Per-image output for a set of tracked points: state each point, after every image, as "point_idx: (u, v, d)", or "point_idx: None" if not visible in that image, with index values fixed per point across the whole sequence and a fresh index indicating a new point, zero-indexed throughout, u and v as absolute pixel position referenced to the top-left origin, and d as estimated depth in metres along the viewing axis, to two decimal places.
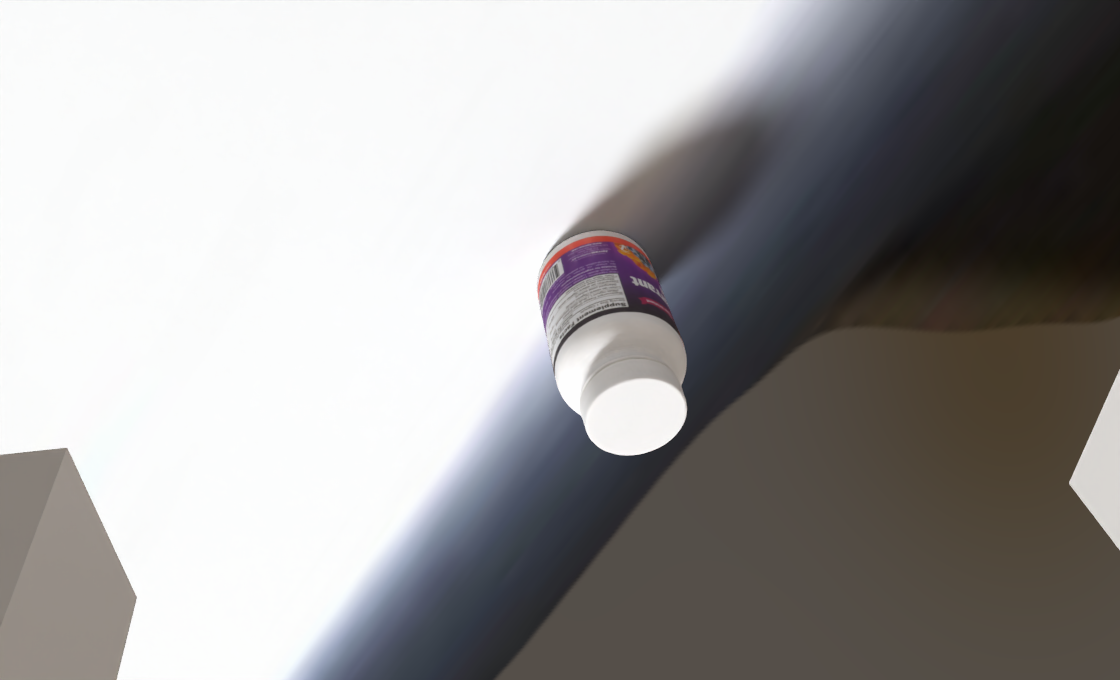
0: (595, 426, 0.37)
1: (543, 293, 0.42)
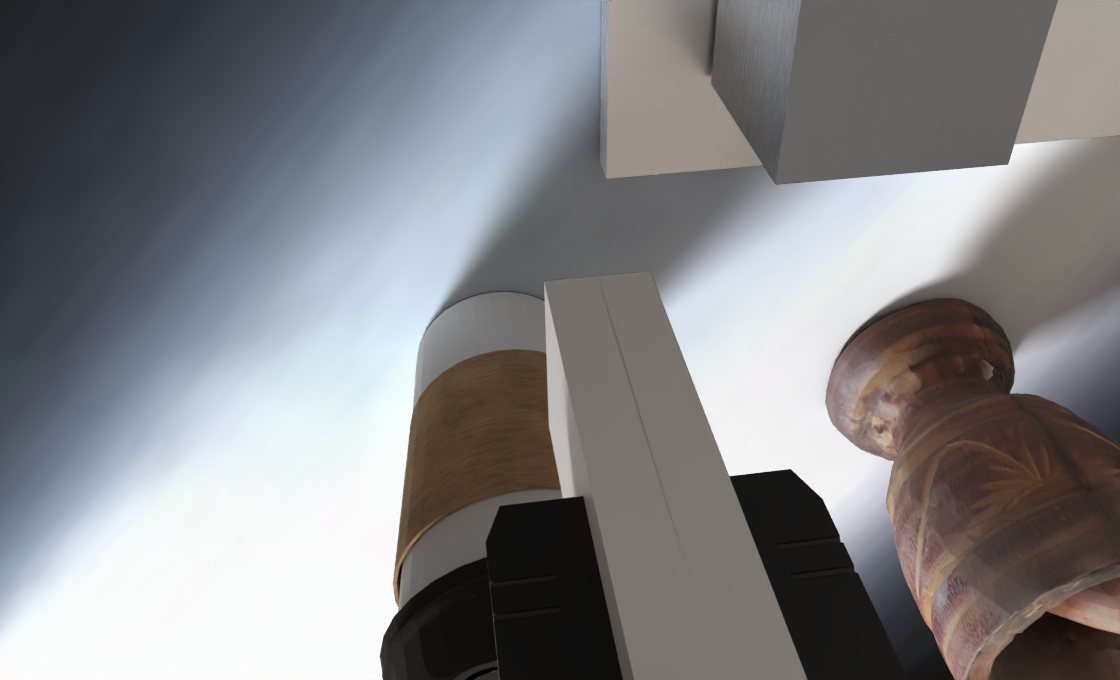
0: None
1: None
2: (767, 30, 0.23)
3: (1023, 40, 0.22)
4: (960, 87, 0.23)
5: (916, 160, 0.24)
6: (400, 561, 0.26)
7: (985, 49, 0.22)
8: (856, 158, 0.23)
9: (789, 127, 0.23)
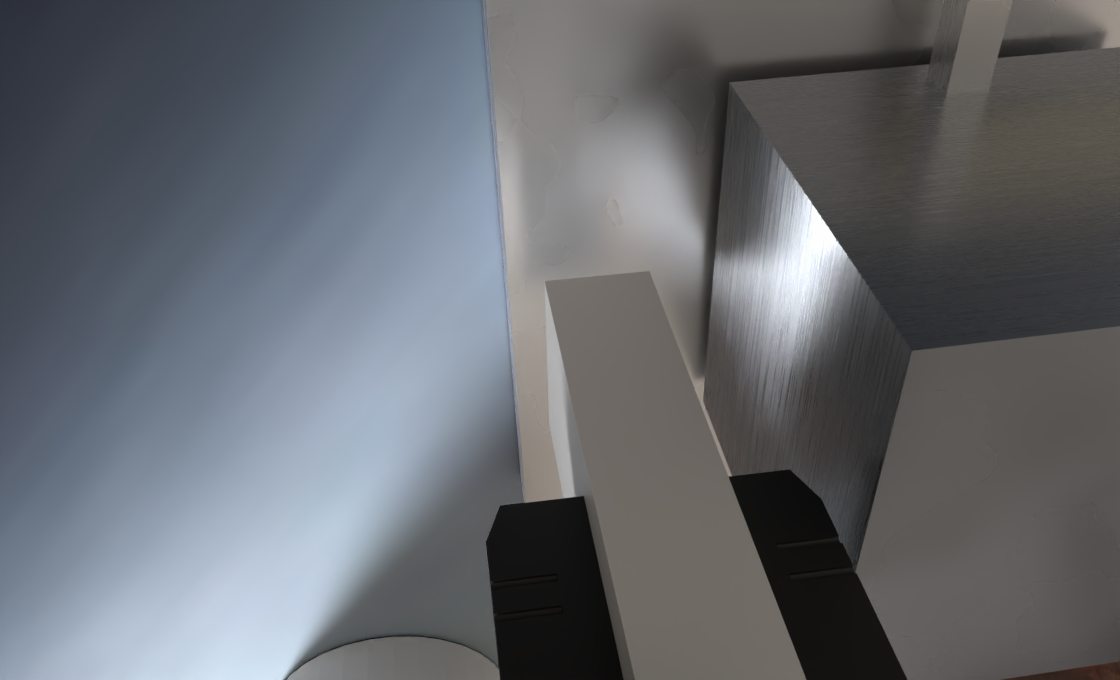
0: None
1: None
2: (804, 436, 0.12)
3: None
4: None
5: (1083, 653, 0.13)
6: None
7: None
8: (973, 662, 0.12)
9: None
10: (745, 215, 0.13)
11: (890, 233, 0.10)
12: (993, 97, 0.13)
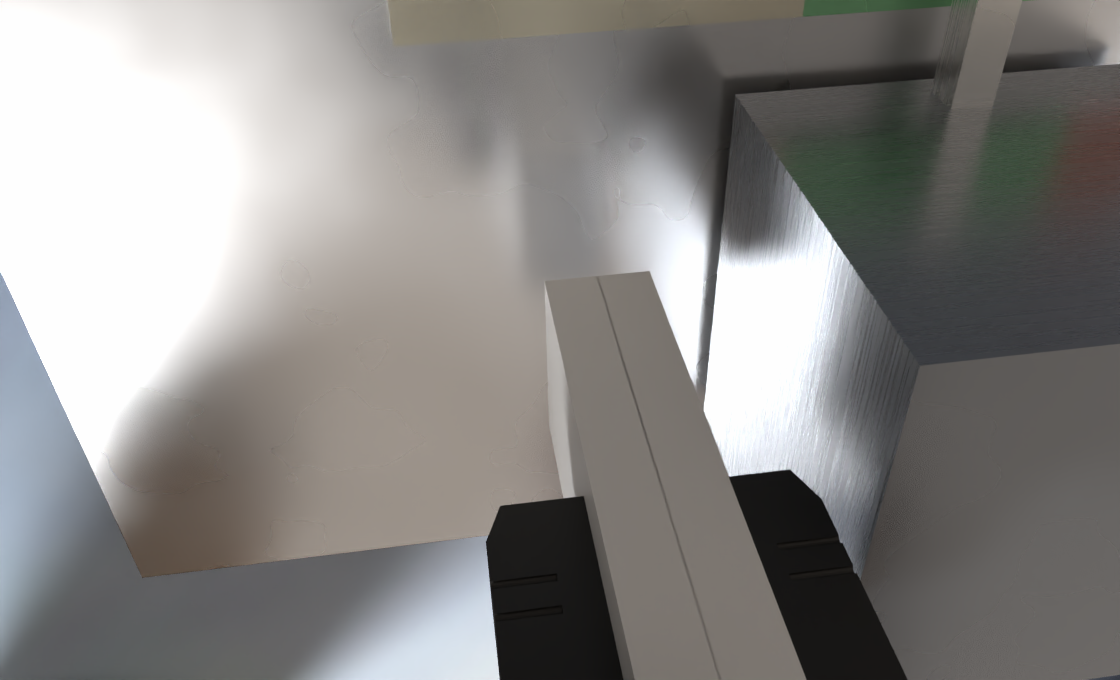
0: None
1: None
2: (808, 448, 0.12)
3: None
4: None
5: (1083, 666, 0.13)
6: None
7: None
8: (974, 674, 0.12)
9: None
10: (750, 227, 0.13)
11: (896, 248, 0.10)
12: (997, 112, 0.13)
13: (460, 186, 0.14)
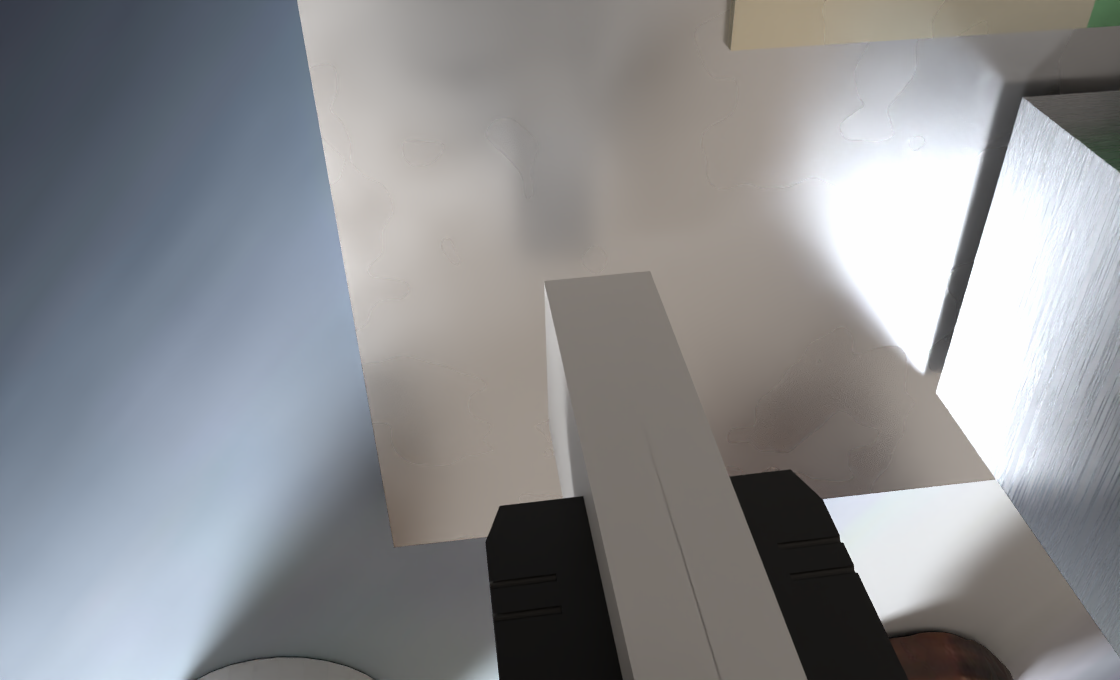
0: None
1: None
2: None
3: None
4: None
5: None
6: None
7: None
8: None
9: None
10: (1037, 216, 0.15)
11: None
12: None
13: (756, 179, 0.16)
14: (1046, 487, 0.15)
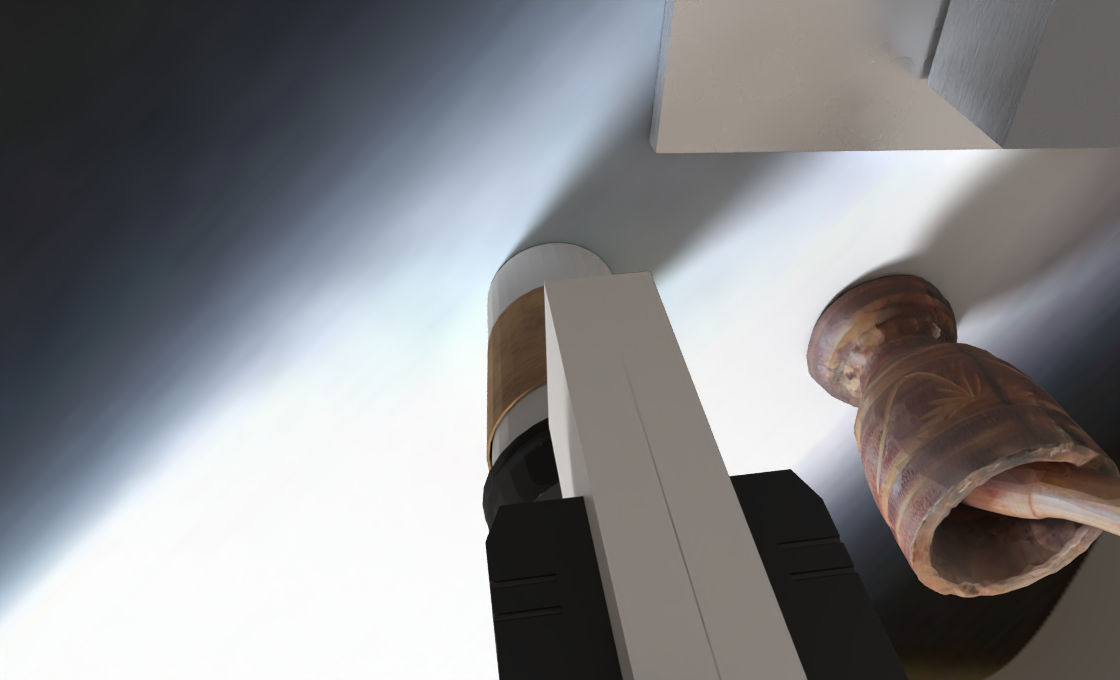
0: None
1: None
2: (1005, 42, 0.33)
3: None
4: None
5: (1097, 138, 0.34)
6: (496, 424, 0.34)
7: None
8: (1059, 134, 0.34)
9: (1021, 108, 0.33)
10: None
11: None
12: None
13: None
14: (976, 95, 0.35)
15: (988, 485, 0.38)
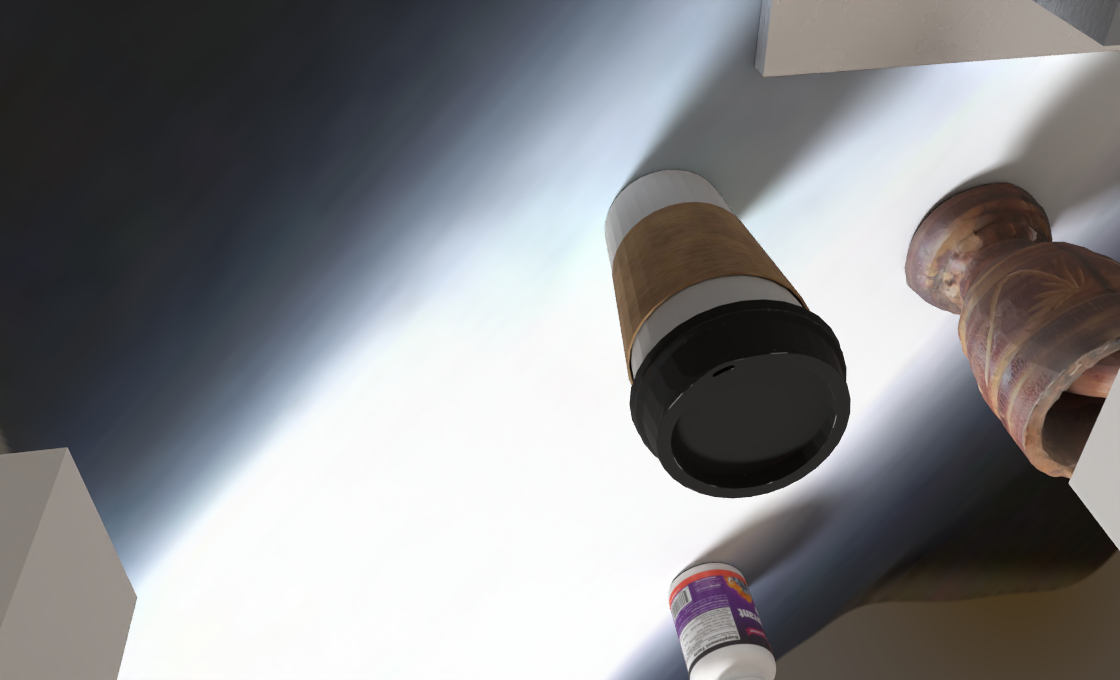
0: None
1: (676, 609, 0.63)
2: None
3: None
4: None
5: None
6: (636, 331, 0.38)
7: None
8: None
9: None
10: None
11: None
12: None
13: None
14: None
15: (1095, 370, 0.41)
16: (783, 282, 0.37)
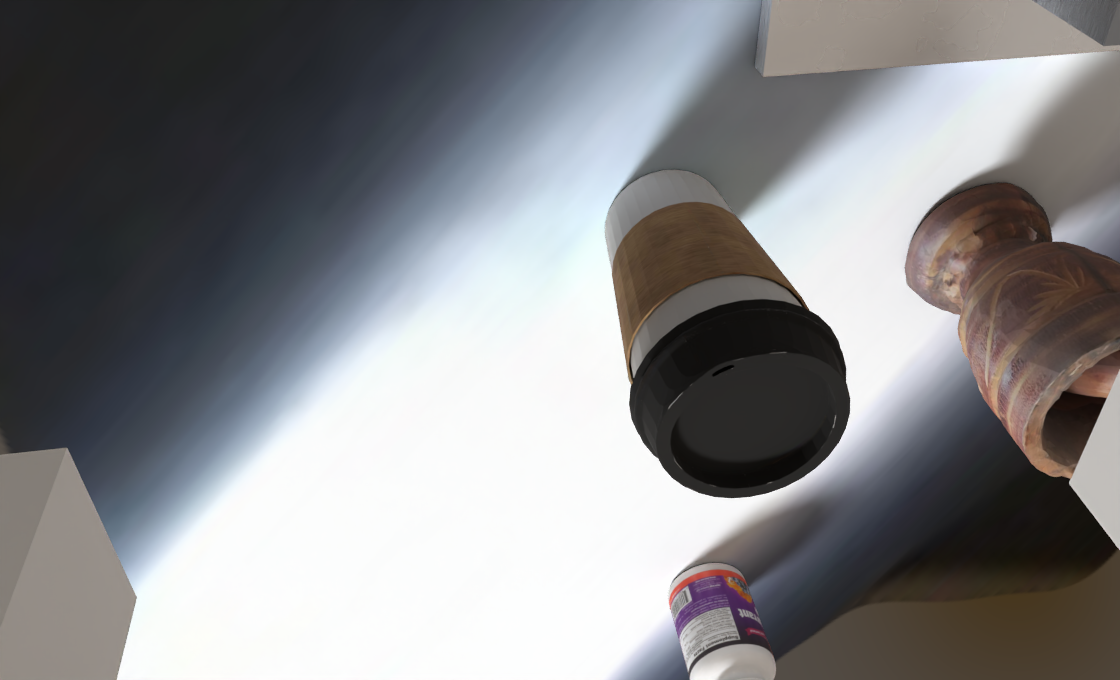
0: None
1: (676, 609, 0.63)
2: None
3: None
4: None
5: None
6: (636, 331, 0.38)
7: None
8: None
9: None
10: None
11: None
12: None
13: None
14: None
15: (1095, 370, 0.41)
16: (783, 282, 0.37)
